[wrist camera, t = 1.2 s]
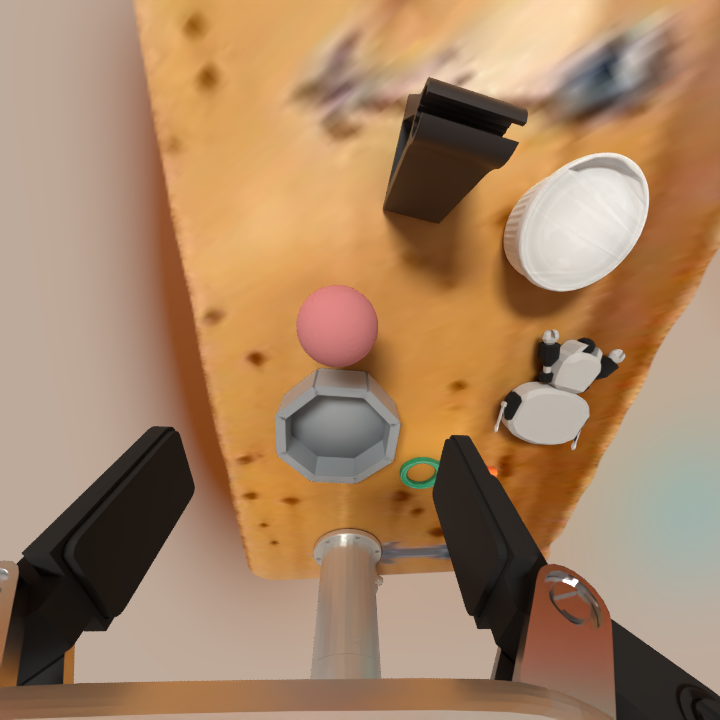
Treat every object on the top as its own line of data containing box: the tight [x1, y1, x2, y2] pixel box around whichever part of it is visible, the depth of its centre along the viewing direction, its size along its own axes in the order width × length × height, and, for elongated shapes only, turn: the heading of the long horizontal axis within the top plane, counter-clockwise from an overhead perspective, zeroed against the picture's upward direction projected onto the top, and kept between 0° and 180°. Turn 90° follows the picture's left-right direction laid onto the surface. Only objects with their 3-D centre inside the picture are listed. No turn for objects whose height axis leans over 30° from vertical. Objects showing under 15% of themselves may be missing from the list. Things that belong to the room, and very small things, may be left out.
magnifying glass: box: [400, 457, 497, 489], centre depth 43 cm, size 15×6×2 cm, turn 90°
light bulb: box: [296, 285, 378, 367], centre depth 26 cm, size 7×7×12 cm
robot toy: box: [494, 330, 625, 450], centre depth 35 cm, size 12×4×15 cm
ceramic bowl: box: [275, 368, 401, 484], centre depth 36 cm, size 15×15×4 cm
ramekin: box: [504, 153, 649, 292], centre depth 26 cm, size 11×11×5 cm
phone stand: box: [383, 77, 528, 224], centre depth 21 cm, size 9×6×12 cm, turn 167°
